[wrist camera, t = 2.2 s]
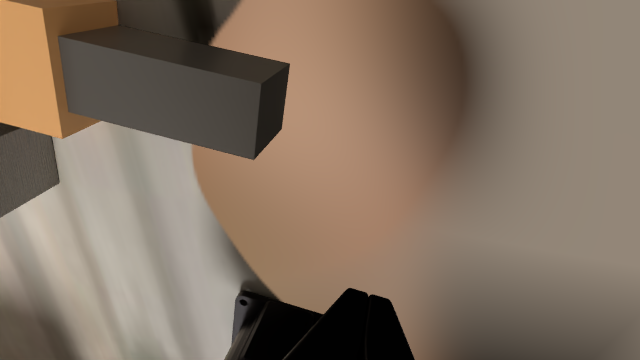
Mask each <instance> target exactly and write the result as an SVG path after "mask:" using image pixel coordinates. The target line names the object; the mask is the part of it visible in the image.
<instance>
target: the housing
mask: <svg viewBox="0 0 640 360" xmlns="http://www.w3.org/2000/svg"><path fill="white" fill-rule="evenodd" d="M57 184H59V179H58V173H57V168H56V162H55V156H54V150H53V144H52V138H51V136H50V135H46V134H42V133H39V132H35V131H31V130H27V129H24V128H20V127H16V126H12V125H9V124H5V123H1V122H0V217H2V216H4V215H6V214H7V213H9V212H11V211H12V210H14V209H16V208H18V207H19V206H21V205H23V204H24V203H26V202H28V201H30V200H31V199H33V198H35V197H36V196H38V195H40V194H42V193H43V192H45V191H47V190H48V189H50V188H52V187H54V186H55V185H57Z"/></svg>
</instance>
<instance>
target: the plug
mask: <svg viewBox="0 0 640 360" xmlns="http://www.w3.org/2000/svg"><path fill="white" fill-rule="evenodd" d="M289 67H290V64H289V63H285V62H280V61H276V60H271V59H267V58H263V57H258V56H254V55H249V54H244V53H240V52H236V51H232V50H227V49H222V48H218V47H214V46H209V45H204V44H200V43H195V42H191V41H187V40H182V39H178V38H173V37H169V36H164V35H160V34H156V33H151V32H147V31H142V30H138V29H133V28H129V27H125V26H120V25H118V13H117V1H114V0H0V122H1V123H5V124H9V125H12V126H16V127H20V128H24V129H27V130H31V131H35V132H39V133H42V134H46V135H50V136H54V137H57V138H61V139H63V138H65V137H68V136H70V135H72V134H74V133H76V132H78V131H80V130H83V129H85V128H87V127H89V126H91V125H93V124H95V123H98V122H100V121H105V122H109V123H113V124H116V125H120V126H124V127H128V128H132V129H136V130H140V131H144V132H148V133H151V134H155V135H159V136H163V137H167V138H171V139H175V140H179V141H182V142H186V143H190V144H194V145H198V146H202V147H206V148H210V149H213V150H217V151H221V152H225V153H229V154H233V155H237V156H241V157H245V158H248V159H253V160H254V159H255V158H256V157H257V156H258V155H259V153H260V152H261V151H262V150H263V149H264V148H265V147H266V146H267V145H268V144H269V142H270V141H271V140H272V139H273V138H274V137H275V136H276V135H277V134H278V132H279V131H280V130H281V129H282V122H283V114H284V106H285V98H286V91H287V82H288V74H289Z"/></svg>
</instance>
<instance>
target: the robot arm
mask: <svg viewBox="0 0 640 360" xmlns="http://www.w3.org/2000/svg"><path fill="white" fill-rule="evenodd" d="M245 300H246V301H245ZM224 360H415V359H414V357H413V354H412V352H411V349H410V347H409V344H408V342H407V339H406V337H405V334H404V332H403V329H402V327H401V325H400V322H399V320H398V317H397V315H396V312H395V310H394V307H393V305H392V303H391V301H390V300H389V299H387V298H383V297H380V296H377V295H370V296H369V297H368V294H367V293H366V292H362V291H359V290H356V289H352V288H348V289H347V290H346V291H345V292H344V293H343V294H342V295H341V296H340V297H339V298H338V299H337V300H336V302H335V303H334V304H333V305H332V306H331V307H330V308H329V309H328V310H327V311H326V313H325V314H320V313H317V312H313V311H310V310H307V309H304V308H300V307H297V306H294V305H290V304H287V303H284V302H280V301H277V300H274V299H270V298H267V297H264V296H260V295H257V294H254V293H250V292H247V291H242V292H240V293H239V294H238V296H237V298H236V300H235V311H234V322H233V334H232V345H231V348H230V350H229V352H228V354H227V355H226V357H225V359H224Z"/></svg>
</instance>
